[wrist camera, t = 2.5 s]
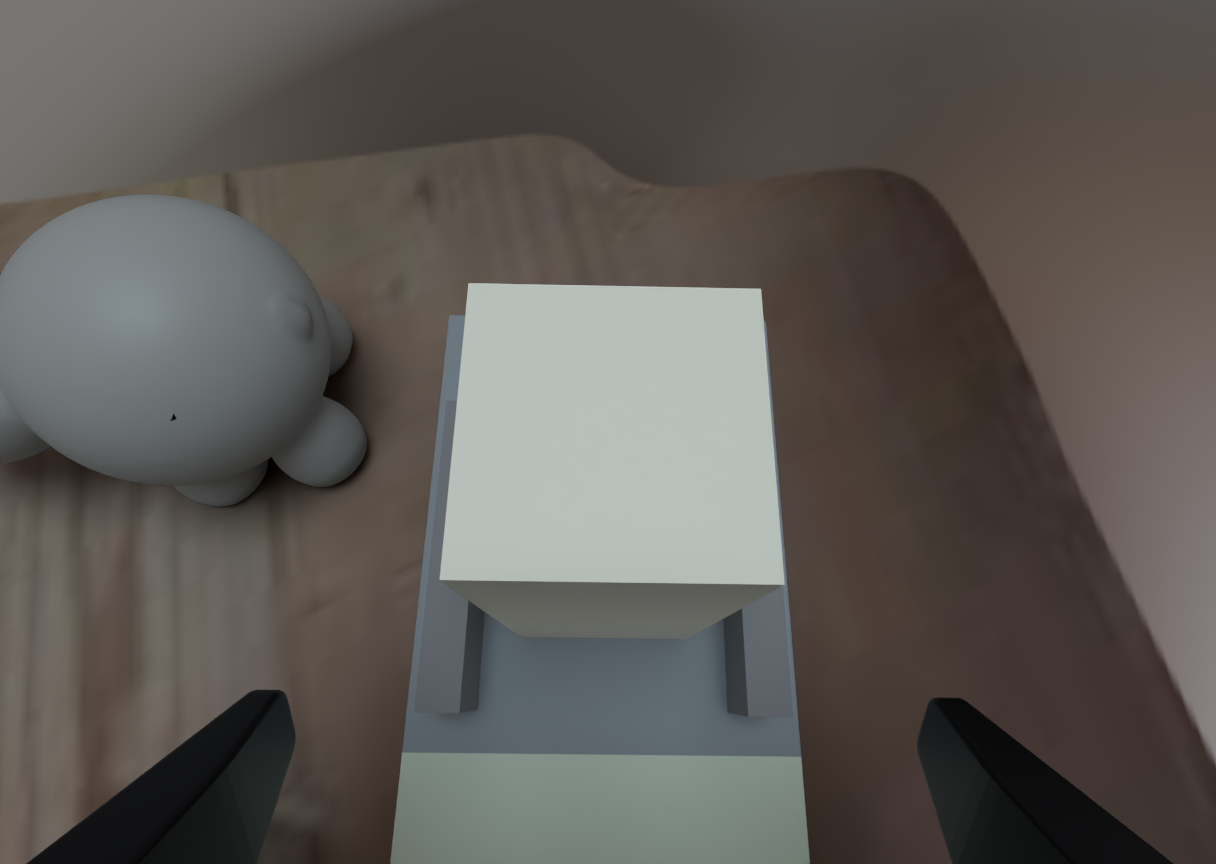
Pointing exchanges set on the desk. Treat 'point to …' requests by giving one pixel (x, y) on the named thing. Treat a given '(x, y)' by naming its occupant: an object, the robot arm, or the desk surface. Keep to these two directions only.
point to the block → (612, 460)
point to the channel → (594, 728)
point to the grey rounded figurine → (172, 352)
